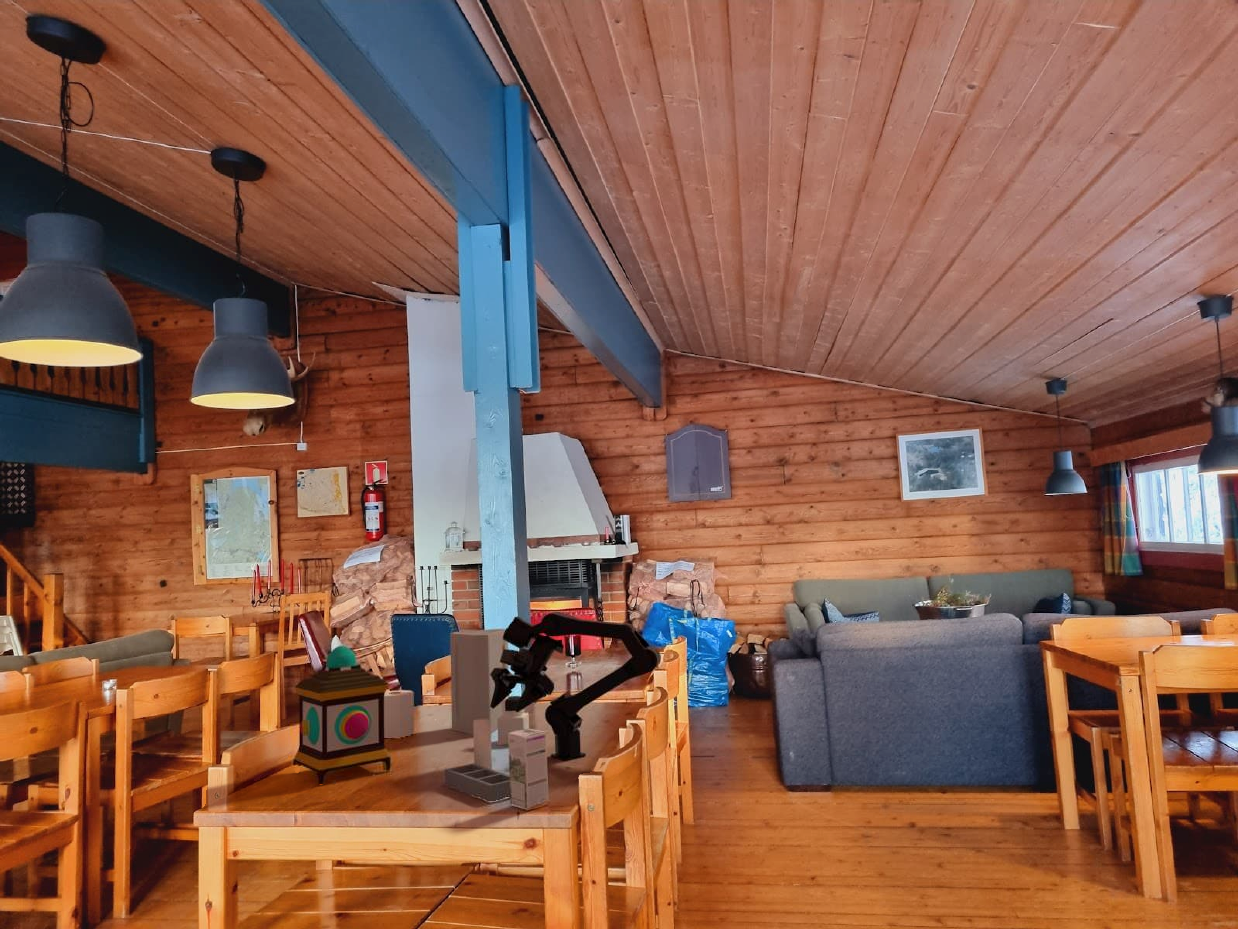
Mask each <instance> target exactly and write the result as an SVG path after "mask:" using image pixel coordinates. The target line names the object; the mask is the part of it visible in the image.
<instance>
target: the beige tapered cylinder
mask: <svg viewBox="0 0 1238 929" xmlns="http://www.w3.org/2000/svg"><path fill="white" fill-rule="evenodd" d="M473 727H474V735H473V761H474V762H473V764H476V765H479V766H482V767H485V768H488V769H491V770H493V765H492V764H493V762H492V734H491V719H477V720H474V721H473Z"/></svg>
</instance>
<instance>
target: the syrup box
mask: <svg viewBox="0 0 1238 929" xmlns="http://www.w3.org/2000/svg"><path fill="white" fill-rule="evenodd" d="M546 733H547V732H546V731H543V730H538V729H532V728H529V729H522V730H517V731H514V732H511V733H508V744H509V745H508V766H509V768H508V770H509V772H508V773H509V774H508V775H510V799H509V801H510V805H511V804H514V805H516V806H520V807H523V808H530V807H532V806H534V805H536V804H541V803H543V802H545V801H549V785H548V783H549V781H548V759H547V758H548V755H547V754H548V753H547V751H548V750H547V734H546Z"/></svg>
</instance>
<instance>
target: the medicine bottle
mask: <svg viewBox="0 0 1238 929" xmlns="http://www.w3.org/2000/svg"><path fill="white" fill-rule="evenodd" d="M520 697H521V696H520V695H509V697H506V698H505V699H504V700H503V701H502V713H503V715H501V716H500V717H499V718H498V731H497V745H499V746H509V744H508V733H511V732H514V731H517V730H522V729H530V720H529V718H530V717H529V712H525V708H524V709H522V710H521V711H519V712H516V711H515V710H514V709H515V707H516V704H517V702H518V701H519V699H520Z"/></svg>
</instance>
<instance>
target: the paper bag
mask: <svg viewBox="0 0 1238 929" xmlns="http://www.w3.org/2000/svg"><path fill="white" fill-rule="evenodd" d="M505 630H506V628H493V629H491V628H490V629H480V630H478V629H477V630H467V631H454V632H450V633H449V635H450V636H449V637H450V638H449V639H450V640H449V641H450V646H449V647H450V690H451V693H450V695H451V696H450V697H451V700H450V701H451V703H450V704H451V730H452V729H453V731H456V732H461V733H464V734H468V735H472V736H474V727H473V721H474V720H477V719H491V735H493V734H494V733H496V732H497V731H496V730H498V718H499V717H500V716H501V715H503V713H502V702H501V703H500V704H499V705H497V706H496V707H495V708H494V709H492V708H491V707H490V704H491V701H492V697H493V693H494V688H495V683H494V681H493V679H492V677H491V676H490V674H491V672H492V671H493V669H494V668H507V669H508V670H509V671H510V667H509V666H510V665H507V664H505V663H501V662H500V659H501V656H502V653H503V650H504V649H508V650H509V643H508V642H506V641H505V640H503V635H504V632H505ZM509 696H510V694H509V695H508V696H507V697H509ZM495 731H496V732H495ZM493 732H494V733H493ZM492 733H493V734H492Z"/></svg>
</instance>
